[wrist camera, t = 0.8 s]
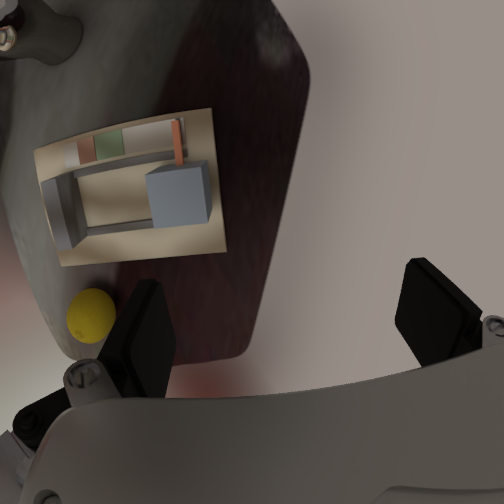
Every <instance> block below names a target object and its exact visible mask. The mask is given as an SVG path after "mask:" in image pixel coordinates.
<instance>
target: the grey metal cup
mask: <svg viewBox="0 0 504 504" xmlns="http://www.w3.org/2000/svg"><path fill="white" fill-rule="evenodd" d="M82 34H83V27H82V24H81V22H80V21H79V20H78V19H77V18H75V17H73V16H66V15H61V14H59V13H57V12H55V11H54V10H53V9H52V8H51V7H50V6H49V5H48V4H46V3H45V2H44V1H43V0H0V61H8V60H16V59H25V58H33V59H36V60H38V61H40V62H42V63H44V64H46V65H50V66H53V65H58V64H60V63H62V62H64V61H66V60H67V59H68V58H69V57H70V56H71V55H72V54H73V53H74V52H75V50H76V49H77V47H78V46H79V44H80V41H81V38H82Z"/></svg>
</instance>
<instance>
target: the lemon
mask: <svg viewBox="0 0 504 504" xmlns="http://www.w3.org/2000/svg"><path fill="white" fill-rule="evenodd" d="M115 313H116V310H115V305H114V303H113V301H112V299H111V297H110V296H109V295H108V294H107V293H106V292H104V291H103V290H100V289H97V288H89V289H85V290H83V291H81V292H80V293H78V294H77V295H76V296H75V297H74V299H73V300H72V302H71V304H70V306H69V308H68V311H67V319H66V320H67V326H68V328H69V331H70V332H71V334H72V335H73V336H74V337H75V338H76V339H77V340H79V341H81V342H84V343H96V342H98V341H100V340H101V339H103V338H104V337H105V336H106V335H107V334H108V333H109V331H110V330H111V328H112V326H113V324H114V321H115Z"/></svg>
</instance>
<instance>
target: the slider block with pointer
mask: <svg viewBox="0 0 504 504" xmlns="http://www.w3.org/2000/svg"><path fill="white" fill-rule="evenodd" d="M171 126H172V135H173V144H174V152H175V160H176V164H173V165H166V166H159V167H158V168H156V169H154V170H152V171H151V172H149V173H147V174H146V175H145V180H146V186H147V192H148V198H149V204H150V209H151V215H152V220H153V225H154V229H158V228H167V227H176V226H185V225H195V224H205V223H208V222H209V218H210V215H211V212H212V208H213V205H212V197H211V189H210V180H209V171H208V162H207V160H203V161H195V162H187V163H184V158H183V150H182V141H181V132H180V122H179V120H176V121H171Z"/></svg>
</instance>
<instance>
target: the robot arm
mask: <svg viewBox="0 0 504 504" xmlns="http://www.w3.org/2000/svg"><path fill="white" fill-rule="evenodd" d="M481 314H482V310H481V309H480V308H479V307H478V306H477V305H476V304H475V303H474V302H473V301H472V300H471V299H470V298H469V297H467V295H465V294H464V293H463V292H462V291H461V290H460V289H459V288H458V287H457V286H456V285H455V284H454V283H453V282H451V280H449V279H448V278H447V277H446V276H445V275H444V274H443V273H442V272H441V271H440V270H438V269H437V268H436V267H435V266H434V265H433V264H432V263H430V262H429V261H428V260H427V259H426V258H424V257H423V258H412V259H411V260H410V261H409V262H408V263H407V264H406V268H405V273H404V279H403V283H402V289H401V294H400V298H399V302H398V307H397V311H396V315H395V325H396V327H397V329H398V330H399V332H400V333H401V335H402V336H403V338H404V340H405V341H406V343H407V344H408V346H409V347H410V349H411V350H412V352H413V353H414V355H415V357H416V358H417V360H418V362H419V363H420V365H421V366H422V367H421V368H417V369H413V370H409V371H405V372H401V373H397V374H393V375H388V376H384V377H380V378H375V379H371V380H366V381H361V382H356V383H350V384H344V385H339V386H332V387H327V388H320V389H312V390H305V391H297V392H288V393H279V394H269V395H256V396H241V397H219V398H165V395H166V390H167V386H168V381H169V377H170V372H171V368H172V364H173V359H174V355H175V351H176V338H175V334H174V330H173V327H172V323H171V319H170V315H169V311H168V307H167V303H166V299H165V295H164V291H163V287H162V284H161V282H157V281H156V279H140V280H139V282H138V284H137V285H136V287H135V289H134V291H133V292H132V294H131V296H130V298H129V300H128V301H127V303H126V305H125V307H124V309H123V311H122V312H121V314H120V315H119V317H118V318H117V320H116V322H115V324H114V326H113V328H112V330H111V332H110V333H109V335H108V337H107V339H106V341H105V343H104V345H103V347H102V349H101V351H100V353H99V355H98V357H97V359H91V358H89V359H82V360H79V361H77V362H75V363H74V364H72V365H71V366H70V367H69V368H68V369H67V370H66V372H65V373H64V377H63V382H64V386H65V387H63V388H61V389H59V390H58V391H56V392H54V393H52V394H50V395H48V396H46V397H44V398H42V399H40V400H38V401H36V402H34V403H32V404H30V405H28V406H26V407H24V408H23V409H21V410H20V411H19V412H18V413H17V414H16V416H15V418H14V420H13V431H12V432H11V433H10V432H9V431H8V430H7V431H5V432H4V433H3V434H2V435H1V436H0V504H504V318H502V317H499V316H494V315H491V316H487V317H485V318H484V320H483V322H482V321H481V320H480V317H481Z"/></svg>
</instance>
